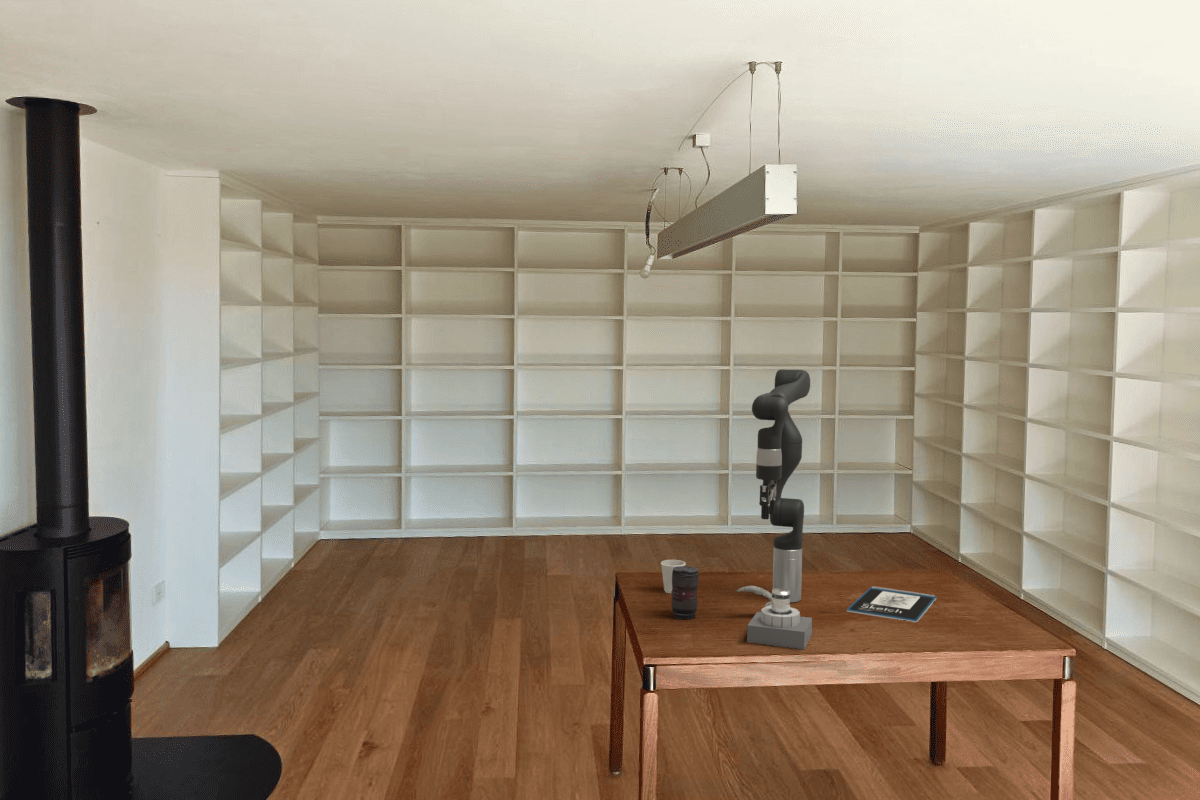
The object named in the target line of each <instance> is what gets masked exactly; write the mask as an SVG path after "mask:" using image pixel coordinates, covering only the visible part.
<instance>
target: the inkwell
mask: <svg viewBox="0 0 1200 800" xmlns="http://www.w3.org/2000/svg"><path fill="white" fill-rule="evenodd" d="M735 592H736V593H738V592H748V593H754V594H756V595H760V596H763V597H764V598H767V599H768V602H766V603H765V605H764V607H768V606H772V592H770V591H768V590H766V589H765V588H762V587H759V586H755V585H747V586H743V587H740V588H738V589H737V590H736V591H735ZM789 607H791V604H789Z"/></svg>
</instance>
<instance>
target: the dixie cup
mask: <svg viewBox="0 0 1200 800" xmlns="http://www.w3.org/2000/svg"><path fill="white" fill-rule="evenodd" d="M660 565H661V573H662V574H661V575H662V583H663V590H664V591H665V592H666V593H665V592H664V593H665V594H667V593H671V592H672V571H673V568H674V567H677V566H687V565H686V562H685V561H683V560H679V559H665V560H662V561H661V562H660Z"/></svg>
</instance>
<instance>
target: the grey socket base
mask: <svg viewBox="0 0 1200 800" xmlns="http://www.w3.org/2000/svg"><path fill="white" fill-rule="evenodd" d="M771 608H772V606H768V607H765V606H764V607H762V609H760V611H756V612H755V614H754V616H753V617H752V618H751V620H750V621H749V623H748V624H747V630H746V631H747V633H746V636H747V638H746V643H747V642H751V643H750V644H755V643H760V644H759V645H763V644H766V645H765V646H771V645H773V647H779V646H780V648H787V647H789V648H788V649H795V648H797V649H798V650H803V649H804V650H805V649H806V646H807V645H808V643H809V640H810V639H811V637H812V635H813V634H812V633H813V632H812V631H813V617H807V616H801V614H800V613H801V612H800V611H799V610H798V609H797V608H795V607H791V606H790V607H789V614H788V615H779V614H773V613H771ZM797 649H796V650H797Z"/></svg>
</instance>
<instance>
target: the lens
mask: <svg viewBox="0 0 1200 800" xmlns="http://www.w3.org/2000/svg"><path fill="white" fill-rule="evenodd" d="M771 594H772V608H771V613H773V614H779V615H788V614H789V605H790V603H791V602H790V591H789V590H787V589H783V588H775V589H773V588H772V589H771Z"/></svg>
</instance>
